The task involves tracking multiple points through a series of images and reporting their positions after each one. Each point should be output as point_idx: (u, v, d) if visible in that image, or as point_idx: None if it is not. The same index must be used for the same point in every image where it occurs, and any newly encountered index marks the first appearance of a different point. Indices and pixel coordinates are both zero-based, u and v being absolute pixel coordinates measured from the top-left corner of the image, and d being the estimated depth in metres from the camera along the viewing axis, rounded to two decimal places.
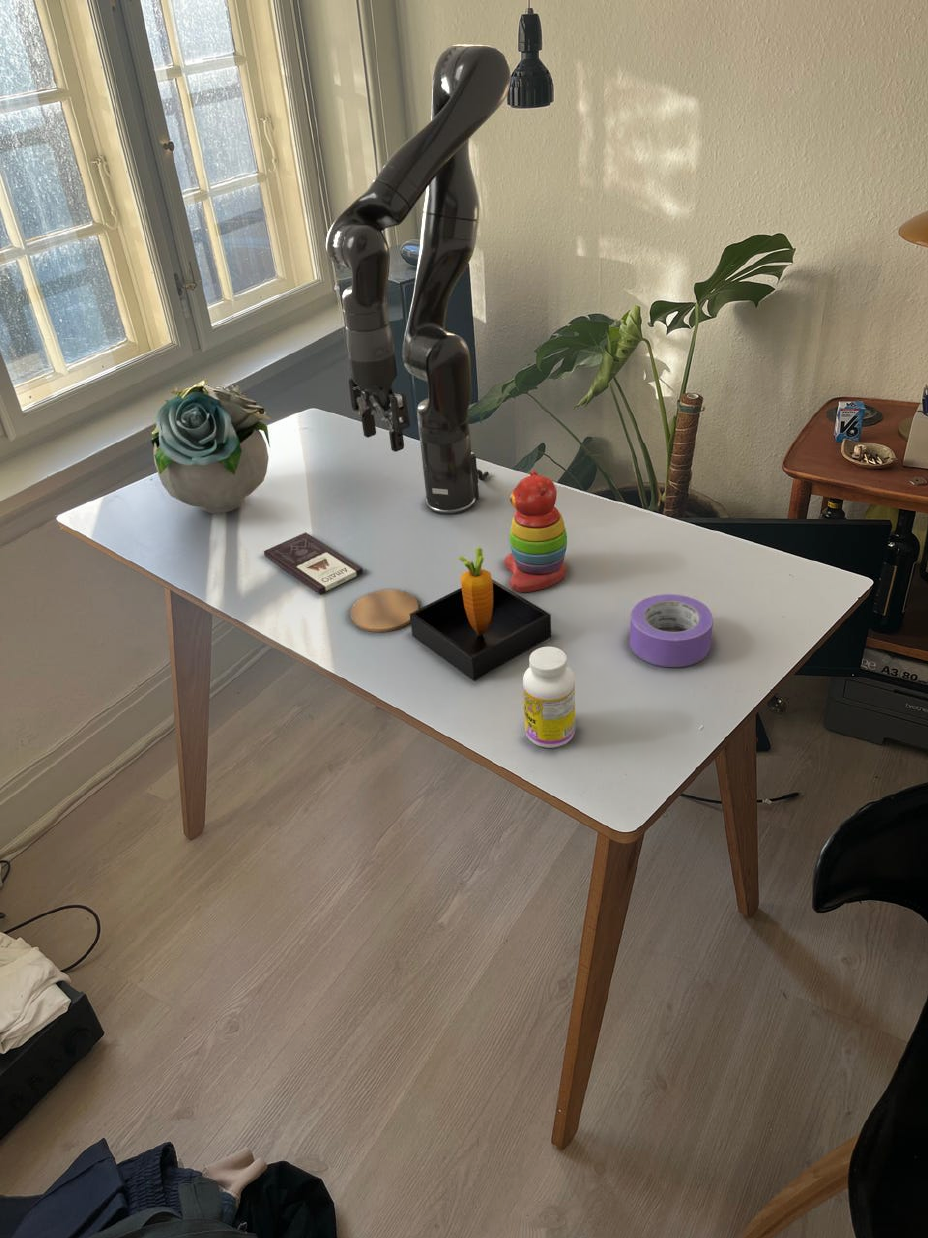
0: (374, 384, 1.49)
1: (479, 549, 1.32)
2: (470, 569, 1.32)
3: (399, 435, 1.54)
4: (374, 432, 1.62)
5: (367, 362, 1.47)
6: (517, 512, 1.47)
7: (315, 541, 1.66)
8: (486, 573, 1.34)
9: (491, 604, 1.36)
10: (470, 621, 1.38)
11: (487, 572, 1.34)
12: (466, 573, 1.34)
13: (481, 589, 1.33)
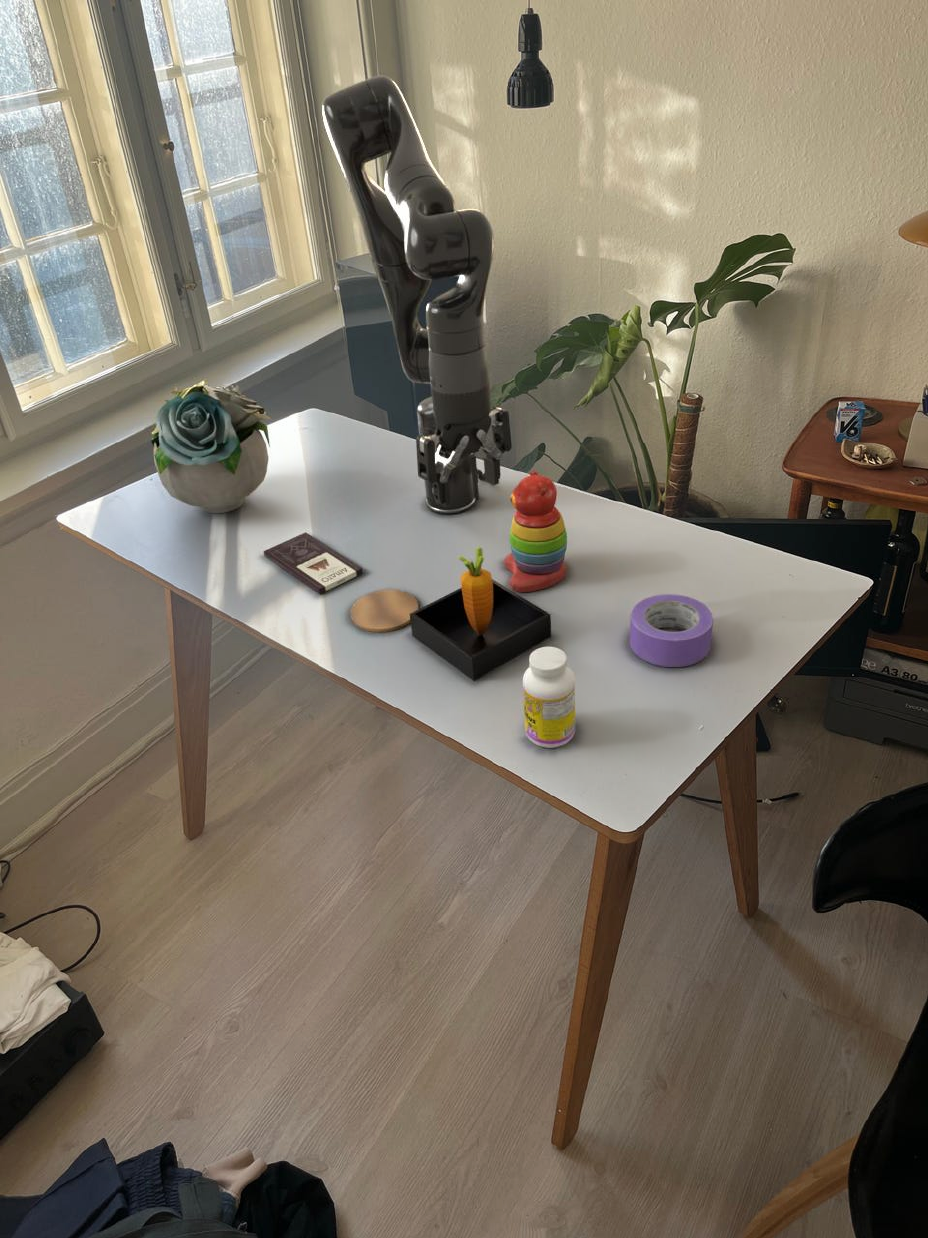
0: (433, 413, 1.19)
1: (479, 549, 1.32)
2: (470, 569, 1.32)
3: None
4: (493, 482, 1.27)
5: None
6: (517, 512, 1.47)
7: (315, 541, 1.66)
8: (486, 573, 1.34)
9: (491, 604, 1.36)
10: (470, 621, 1.38)
11: (487, 572, 1.34)
12: (466, 573, 1.34)
13: (481, 589, 1.33)
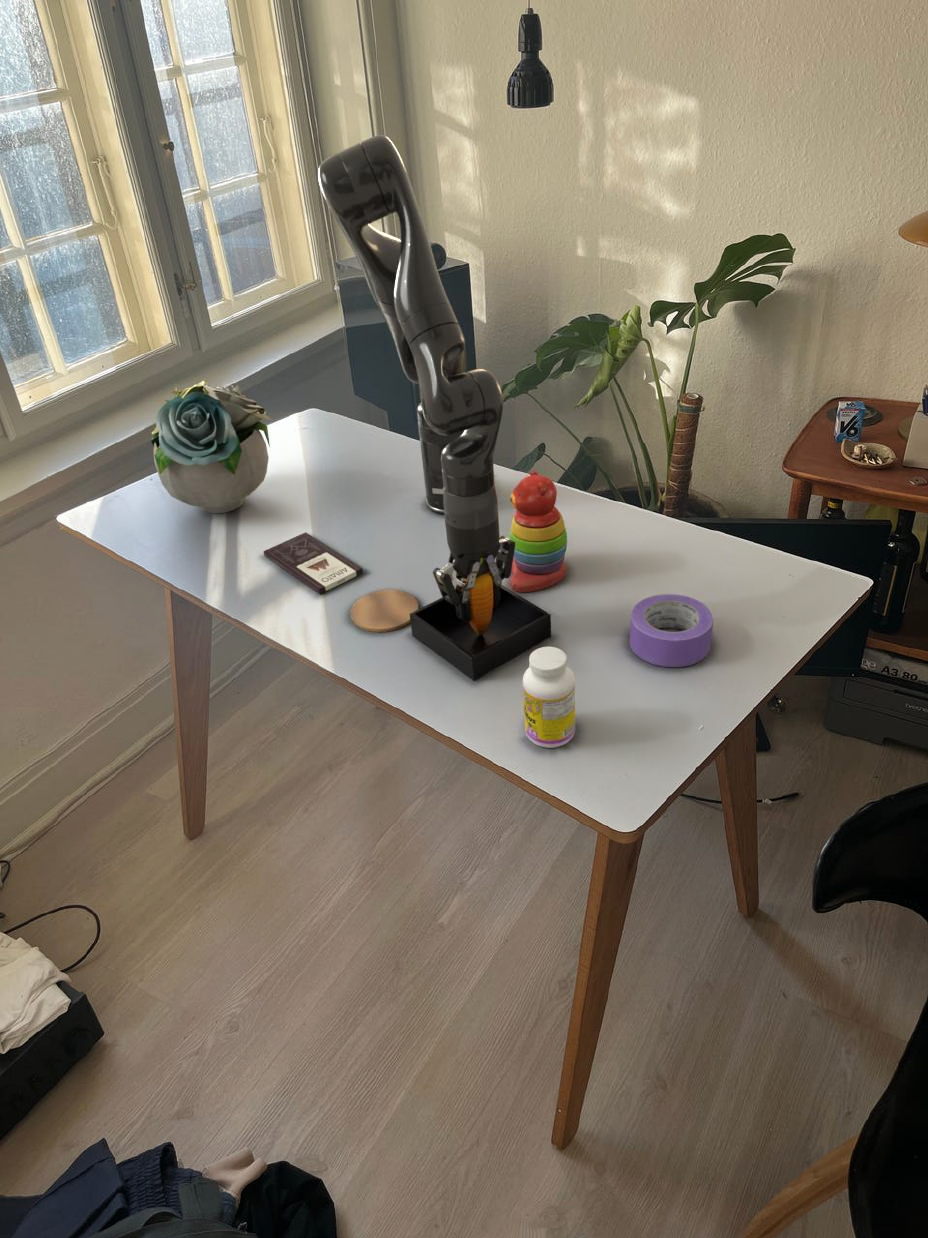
0: (447, 541, 1.30)
1: None
2: None
3: None
4: (493, 605, 1.38)
5: None
6: (517, 512, 1.47)
7: (315, 541, 1.66)
8: None
9: (491, 604, 1.36)
10: (470, 621, 1.38)
11: None
12: None
13: (481, 589, 1.33)
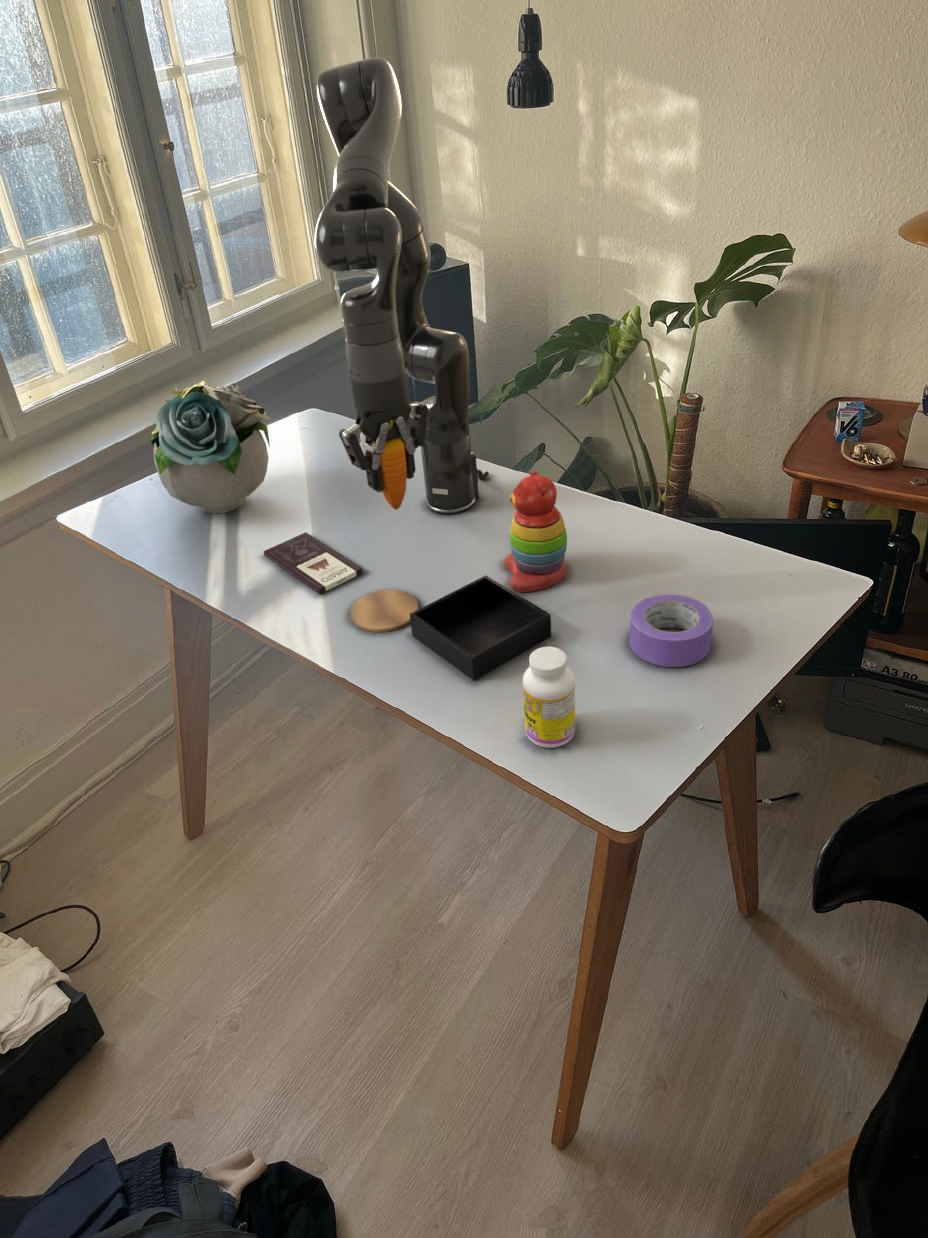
0: None
1: None
2: None
3: None
4: (408, 476, 1.32)
5: None
6: (517, 512, 1.47)
7: (315, 541, 1.66)
8: None
9: (404, 472, 1.30)
10: (383, 492, 1.32)
11: None
12: None
13: (391, 454, 1.27)
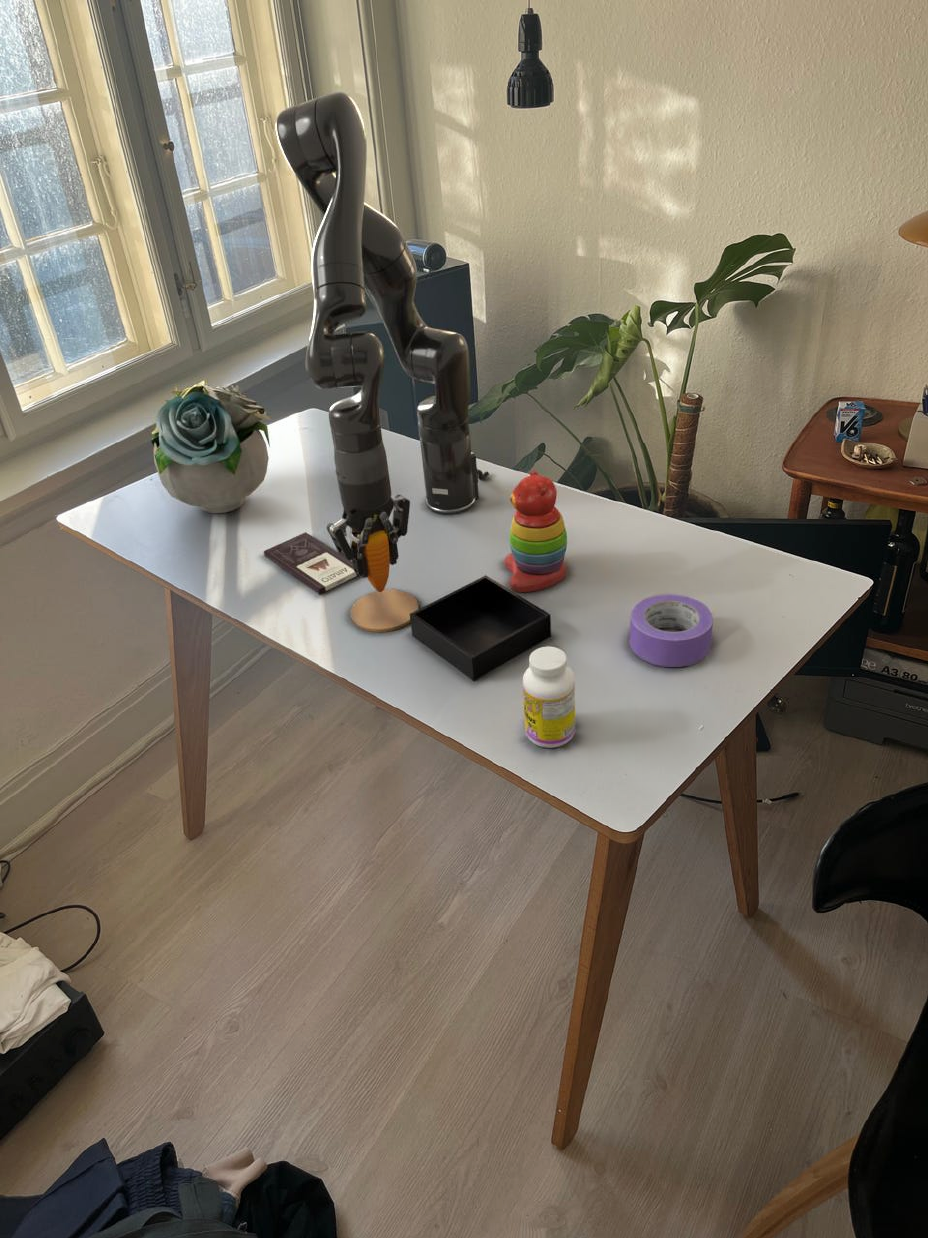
0: None
1: None
2: None
3: (356, 562, 1.40)
4: (391, 562, 1.43)
5: None
6: (517, 512, 1.47)
7: (315, 541, 1.66)
8: (381, 530, 1.39)
9: (387, 560, 1.41)
10: (368, 577, 1.43)
11: None
12: None
13: (375, 545, 1.38)
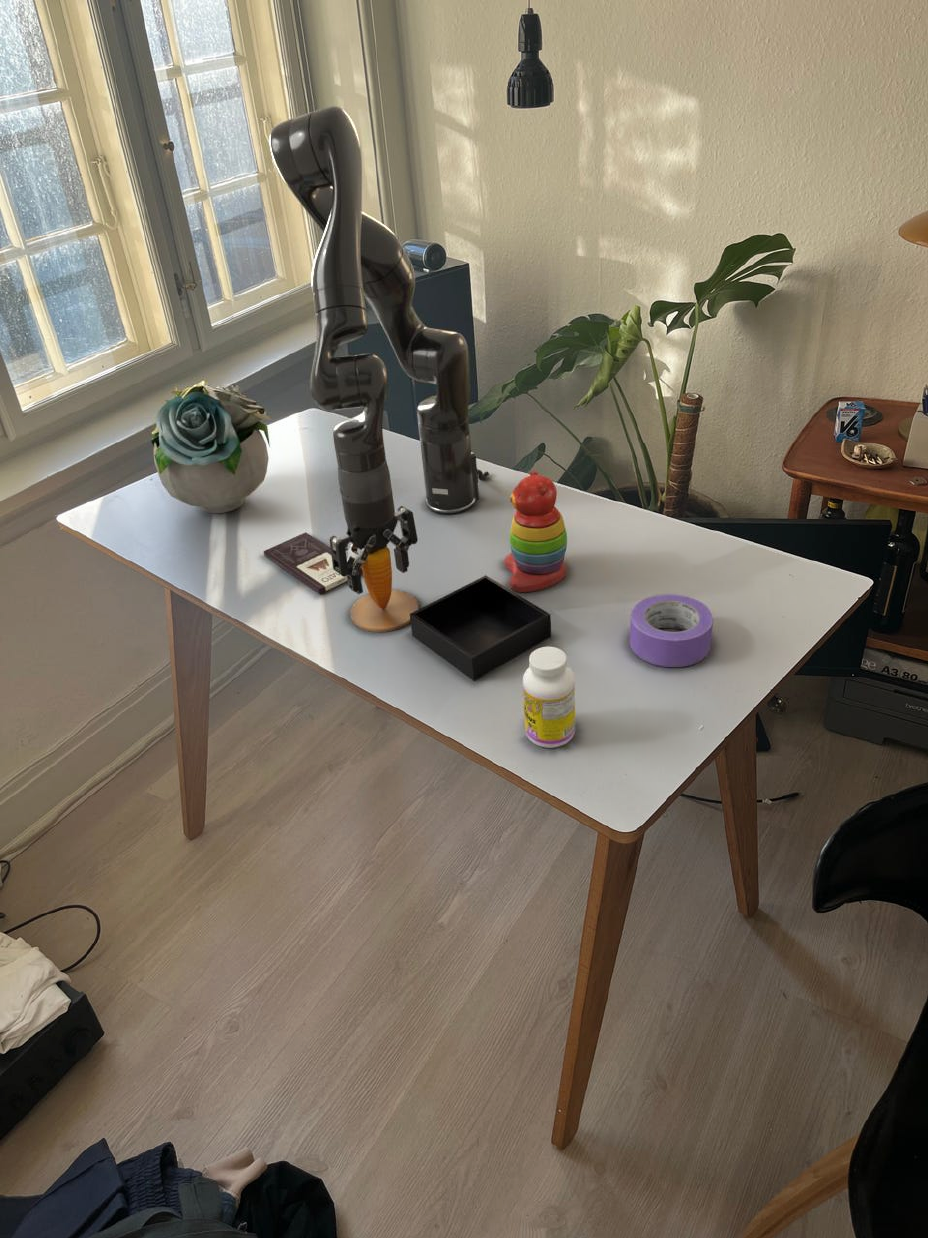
0: None
1: None
2: None
3: None
4: (402, 570, 1.45)
5: None
6: (517, 512, 1.47)
7: (315, 541, 1.66)
8: (384, 548, 1.41)
9: (390, 578, 1.43)
10: (371, 595, 1.45)
11: (385, 548, 1.41)
12: None
13: (378, 564, 1.40)
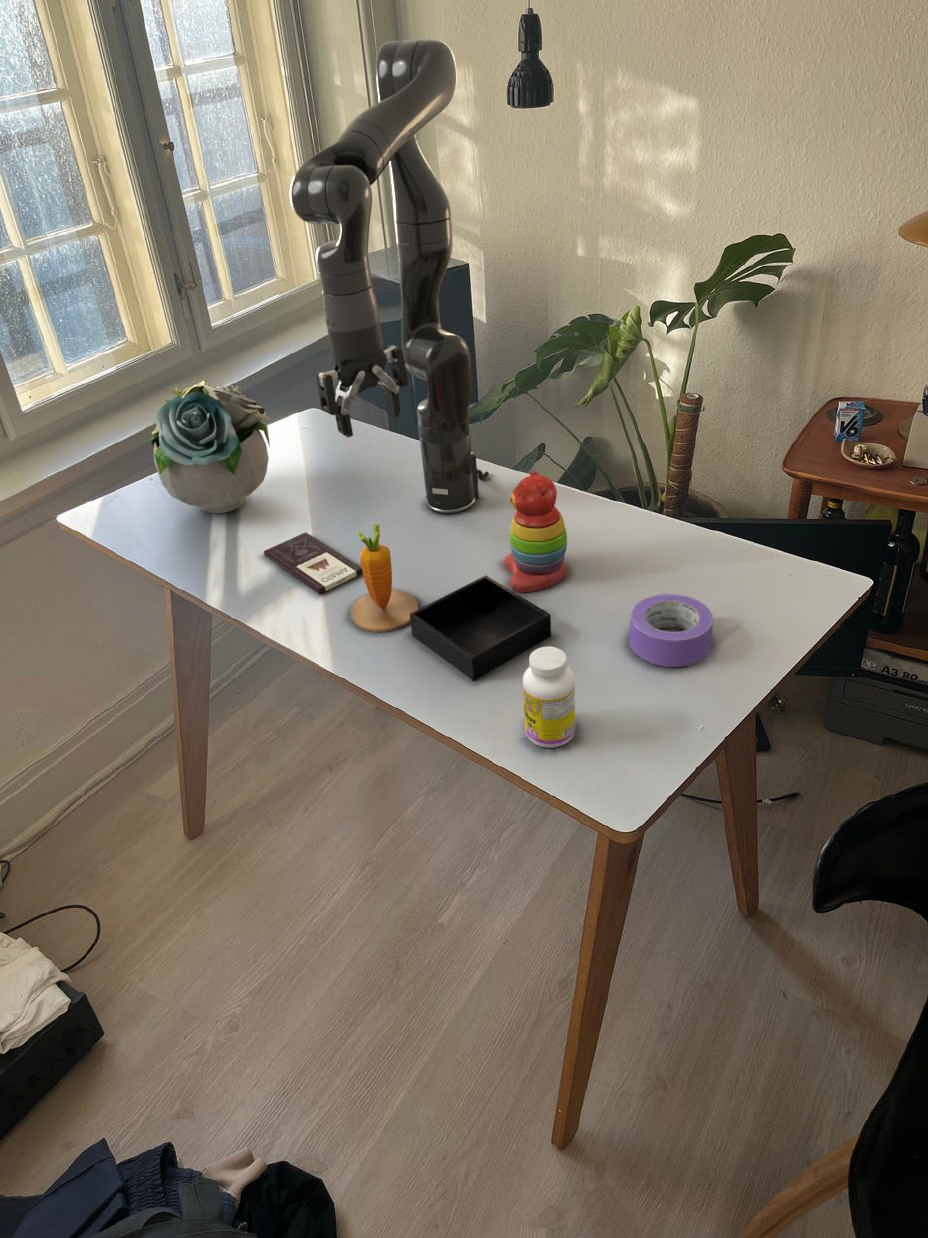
0: None
1: (376, 525, 1.39)
2: (367, 544, 1.39)
3: None
4: (393, 415, 1.40)
5: None
6: (517, 512, 1.47)
7: (315, 541, 1.66)
8: (384, 548, 1.41)
9: (390, 578, 1.43)
10: (371, 595, 1.45)
11: (385, 548, 1.41)
12: (365, 548, 1.41)
13: (378, 564, 1.40)
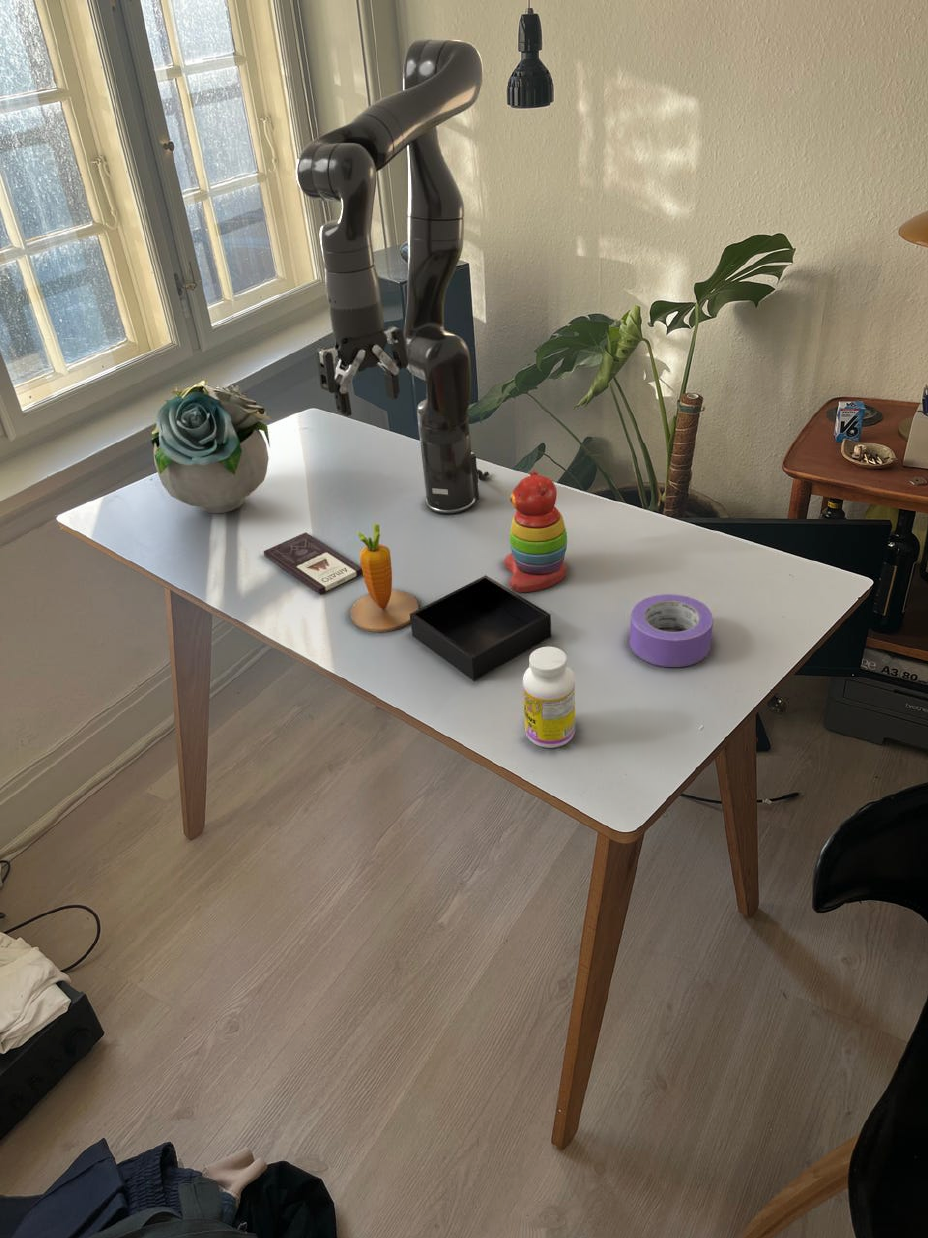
0: None
1: (376, 525, 1.39)
2: (367, 544, 1.39)
3: None
4: (392, 396, 1.41)
5: None
6: (517, 512, 1.47)
7: (315, 541, 1.66)
8: (384, 548, 1.41)
9: (390, 578, 1.43)
10: (371, 595, 1.45)
11: (385, 548, 1.41)
12: (365, 548, 1.41)
13: (378, 564, 1.40)
